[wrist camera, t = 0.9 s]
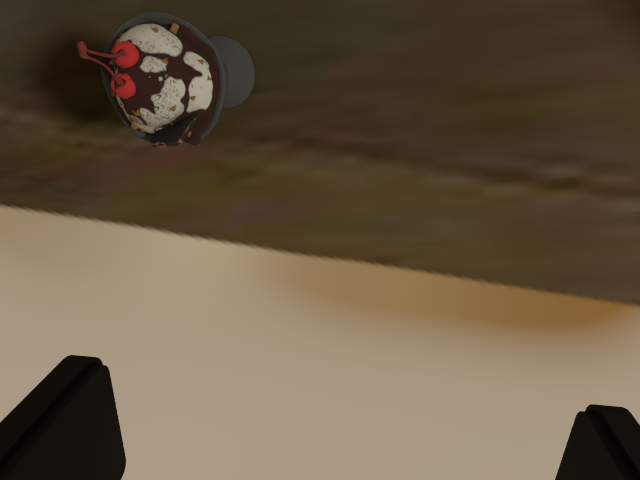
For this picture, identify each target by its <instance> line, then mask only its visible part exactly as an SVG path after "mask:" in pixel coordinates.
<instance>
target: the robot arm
mask: <svg viewBox="0 0 640 480" xmlns="http://www.w3.org/2000/svg"><path fill="white" fill-rule="evenodd" d="M125 465H126V457H125V452H124V447H123V441H122V436H121V431H120V426H119V420H118V415H117V409H116V404H115V399H114V393H113V388H112V383H111V378H110V373H109V369H108V367H107V366H104V365H103V364H102V361H101V360H100V359H99V358H96V357H87V356H76V355H70V356H67V357H66V358H65V359H63V360H62V361H61V362H60V363H59V364H58V365H57V366H56V367H55V368H54V369H53V370H52V371H51V372H50V373H49V374H48V375H47V376H46V377H45V378H44V379H43V380H42V381H41V382H40V383H39V384H38V385H37V386H36V387H35V388H34V389H33V390H32V391H31V392H30V393H29V394H28V395H27V396H26V397H25V398H24V399H23V400H22V401H21V402H20V403H19V404H18V405H17V406H16V408H14V409H13V410H12V411H11V412H10V413H9V415H7V416H6V417H5V418H4V419H3V420H2V421H1V423H0V480H121V478H122V476H123V473H124V470H125ZM555 480H640V425H639V424H638V423H637V421H636V420H635V418H634V417H633V415H632V414H631V413H630V412H629V411H628V410H627V409H625V408H623V407H614V406H604V405H589V406H588V407H587V408H586V410H585V412H583V411H582V412H581V411H580V412H579V413H578V414H577V415H576V418H575V421H574V424H573V427H572V430H571V433H570V436H569V439H568V442H567V445H566V448H565V451H564V454H563V457H562V460H561V463H560V467H559V470H558V473H557V476H556V479H555Z"/></svg>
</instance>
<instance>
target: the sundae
mask: <svg viewBox="0 0 640 480" xmlns="http://www.w3.org/2000/svg"><path fill="white" fill-rule="evenodd" d="M76 45H77V48H78V51H79V55H80V57H81V58H84V59H89V60H92V61H94V62H96V63H99V65H100V69H101V74H102V79H103V84H104V87H105V90H106V94H107V96H108V98H109V100H110V102H111V104H112V105H113V107H114V109H115V111H116V112H117V114H118V116H119V117H120V119H121V120H122V122H123V123H124V124H125V125H126V126H127V127H128V128H129V129H130V130H131V131H132V132H133V133H135V134H136V135H137V136H138V137H140V138H142V139H144V140H146V141H148V142H150V143H151V146H153V147H168V146H171V147H175V146H185V145H189V144H193V145H197V144H199V143H200V141H201V139H202V138H203V137H205V136H206V135H207V134H208V133H209V132H210V130H211V129H212V128H213V126H214V125H215V123H216V122H217V120H218V118H219V115H220V112H221V109H222V108H232V107H235V106H237V105H239V104H241V103H243V102H244V101H245V100H246V99H247V97H248V96H249V95H250V93H251V91H252V89H253V86H254V82H255V70H254V64H253V62H252V59H251V57H250V55H249V53H248V51H247V50H246V49H245V48H244V47H243V46H242V45H241V44H240V43H239V42H238V41H236V40H234V39H232V38H229V37H226V36H211V37H208V38H207V37H206V36H205V35H204V34H203V33H202V32H200V31H199V30H198V29H197V28H195V27H194V26H193V25H191V24H190V23H188V22H186V21H184V20H182V19H180V18H178V17H176V16H173V15H170V14H167V13H163V12H144V13H141V14H138V15H135V16H133V17H132V18H130V19H128V20H126V21H125V22H124V23H123V24H121V25H120V26H119V27H118V28H117V29H116V30H115V32H114V33H113V34H112V35H111V37H110V39H109V40H108V42H107V44H106V45H105V48H104V52H103V53H99V52H95V51H92V50H89V49H87V47H86V45H85V43H84V42H83V41H80V42H77V44H76ZM87 53H92V54H95V55H98V56H102V59H101V60H100V61H98V60H96V59H94V58H92V57H90V56H88V55H87Z"/></svg>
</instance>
